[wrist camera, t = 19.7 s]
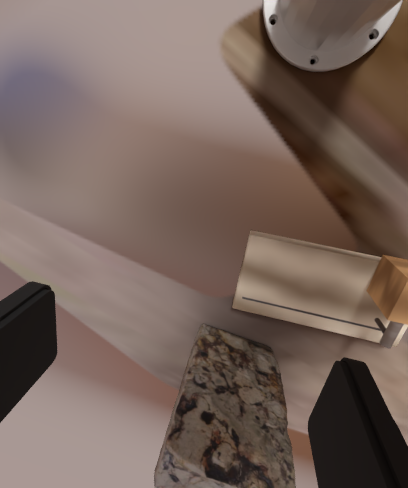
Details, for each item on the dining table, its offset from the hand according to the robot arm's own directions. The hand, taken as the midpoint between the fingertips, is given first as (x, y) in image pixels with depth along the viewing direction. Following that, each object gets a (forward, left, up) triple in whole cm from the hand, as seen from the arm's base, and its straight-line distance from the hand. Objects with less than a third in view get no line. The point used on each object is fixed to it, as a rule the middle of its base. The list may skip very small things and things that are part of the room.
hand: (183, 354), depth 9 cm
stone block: (+24, +5, -28) cm, 37 cm away
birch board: (+10, +14, -28) cm, 33 cm away
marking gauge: (+8, +21, -26) cm, 34 cm away
